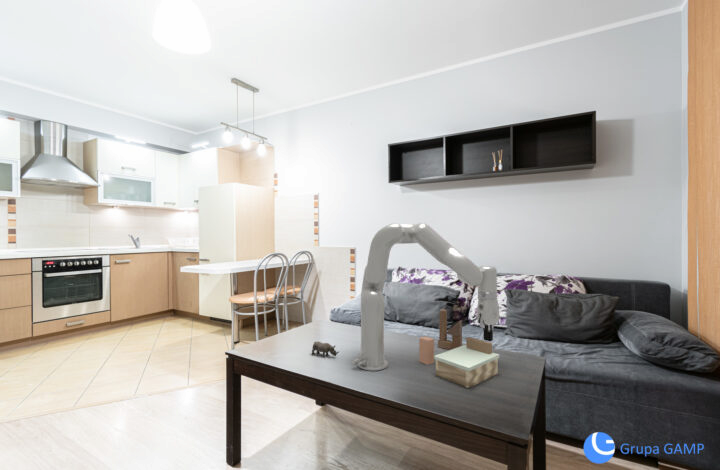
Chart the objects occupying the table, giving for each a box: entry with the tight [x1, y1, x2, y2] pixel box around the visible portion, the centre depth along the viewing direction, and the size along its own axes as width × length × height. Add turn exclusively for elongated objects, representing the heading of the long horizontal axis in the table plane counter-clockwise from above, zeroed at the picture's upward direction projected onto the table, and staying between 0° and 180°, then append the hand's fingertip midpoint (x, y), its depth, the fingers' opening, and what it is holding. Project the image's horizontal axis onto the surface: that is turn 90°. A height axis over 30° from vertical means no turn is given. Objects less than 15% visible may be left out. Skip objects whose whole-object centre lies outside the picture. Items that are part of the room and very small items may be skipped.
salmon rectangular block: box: [418, 336, 435, 366], centre depth 138 cm, size 4×4×10 cm
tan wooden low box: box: [435, 358, 499, 389], centre depth 125 cm, size 20×14×6 cm
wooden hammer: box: [437, 308, 463, 351], centre depth 155 cm, size 4×11×18 cm, turn 51°
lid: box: [434, 336, 500, 371], centre depth 125 cm, size 21×15×5 cm
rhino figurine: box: [311, 341, 340, 358], centre depth 145 cm, size 4×14×6 cm, turn 63°
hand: (488, 340), depth 135 cm, fingers closed
